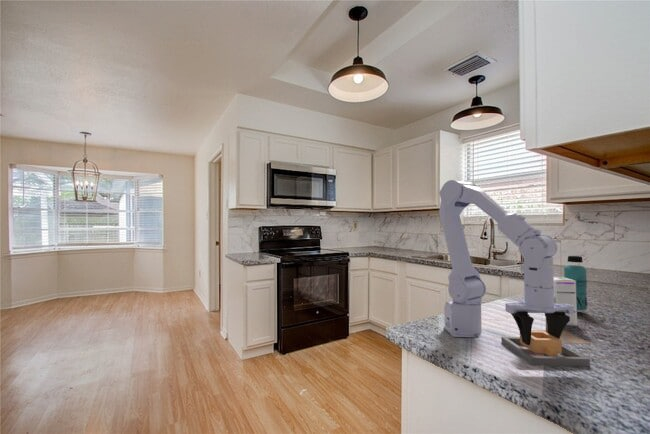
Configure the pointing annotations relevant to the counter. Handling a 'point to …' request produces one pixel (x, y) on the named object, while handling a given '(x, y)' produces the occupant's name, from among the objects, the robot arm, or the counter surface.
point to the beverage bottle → (578, 281)
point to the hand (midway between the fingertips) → (539, 343)
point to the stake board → (568, 337)
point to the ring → (544, 343)
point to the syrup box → (566, 295)
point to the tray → (571, 360)
